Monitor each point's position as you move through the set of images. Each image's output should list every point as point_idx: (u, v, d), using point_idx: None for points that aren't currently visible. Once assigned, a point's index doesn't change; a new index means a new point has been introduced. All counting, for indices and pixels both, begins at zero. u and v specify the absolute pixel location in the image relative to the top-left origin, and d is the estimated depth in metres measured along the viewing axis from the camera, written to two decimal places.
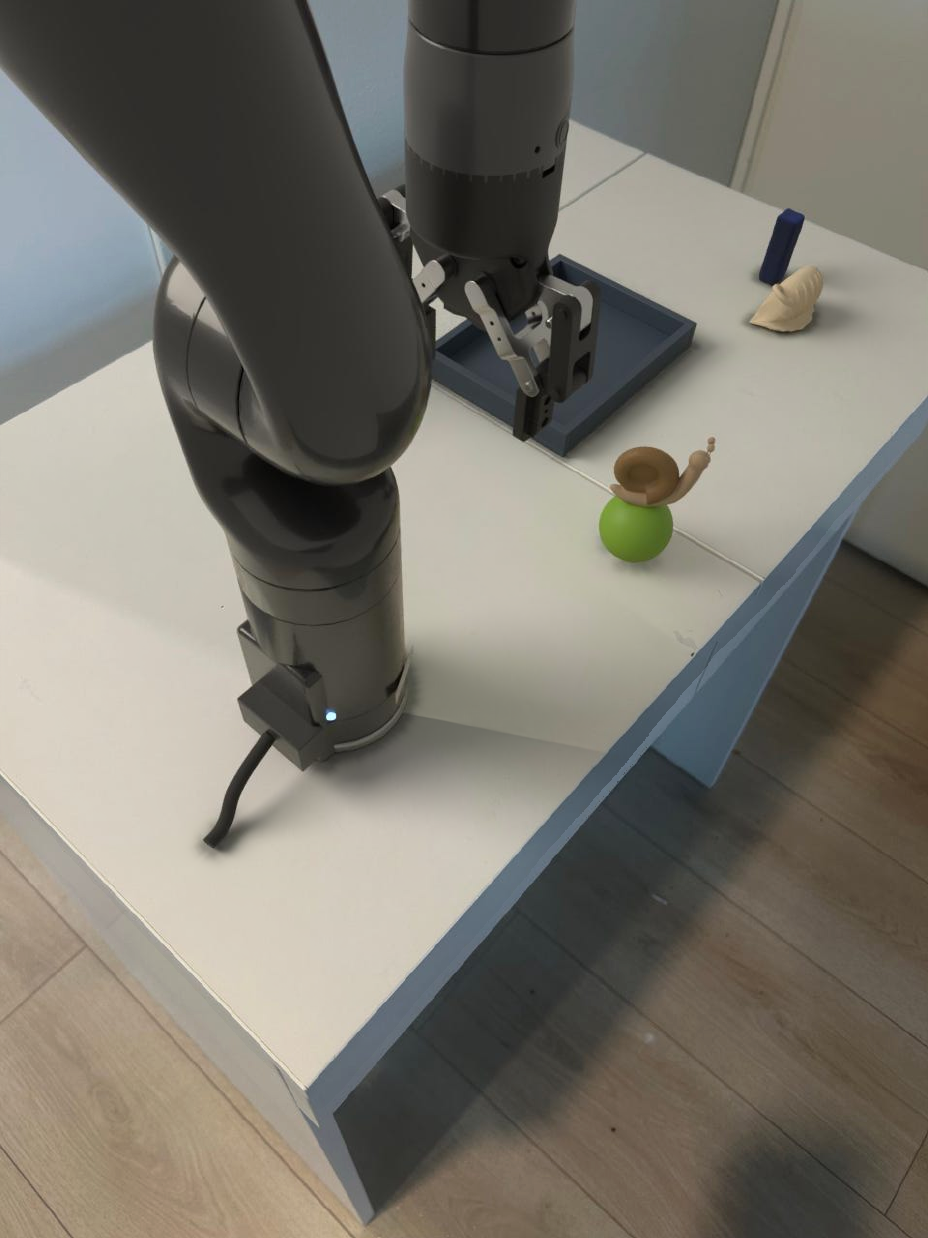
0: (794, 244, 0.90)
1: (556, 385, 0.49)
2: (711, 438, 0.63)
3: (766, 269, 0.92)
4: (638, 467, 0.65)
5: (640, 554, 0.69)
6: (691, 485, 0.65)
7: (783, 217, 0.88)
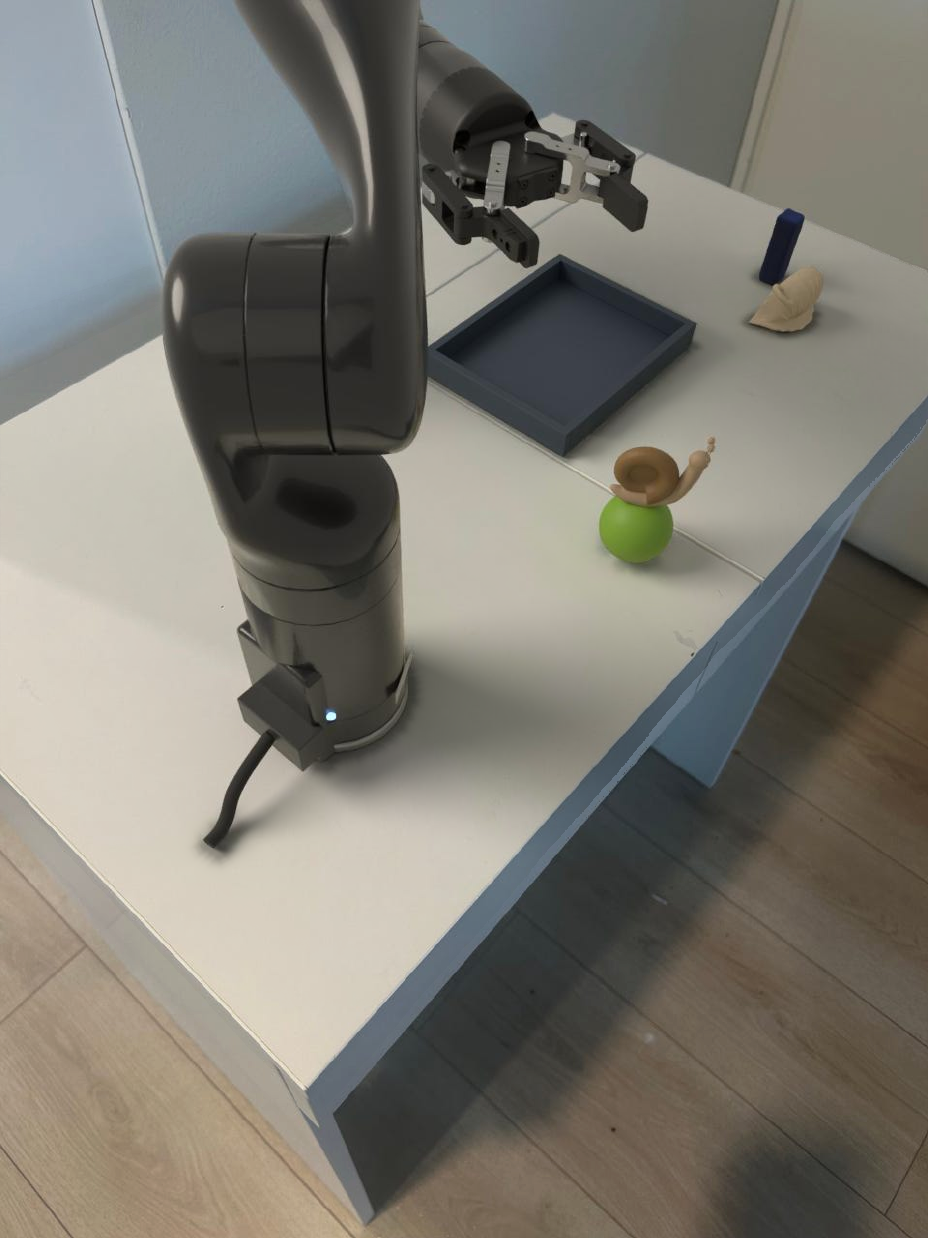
0: (794, 244, 0.90)
1: (622, 152, 0.65)
2: (711, 438, 0.63)
3: (766, 269, 0.92)
4: (638, 467, 0.65)
5: (640, 554, 0.69)
6: (691, 485, 0.65)
7: (783, 217, 0.88)
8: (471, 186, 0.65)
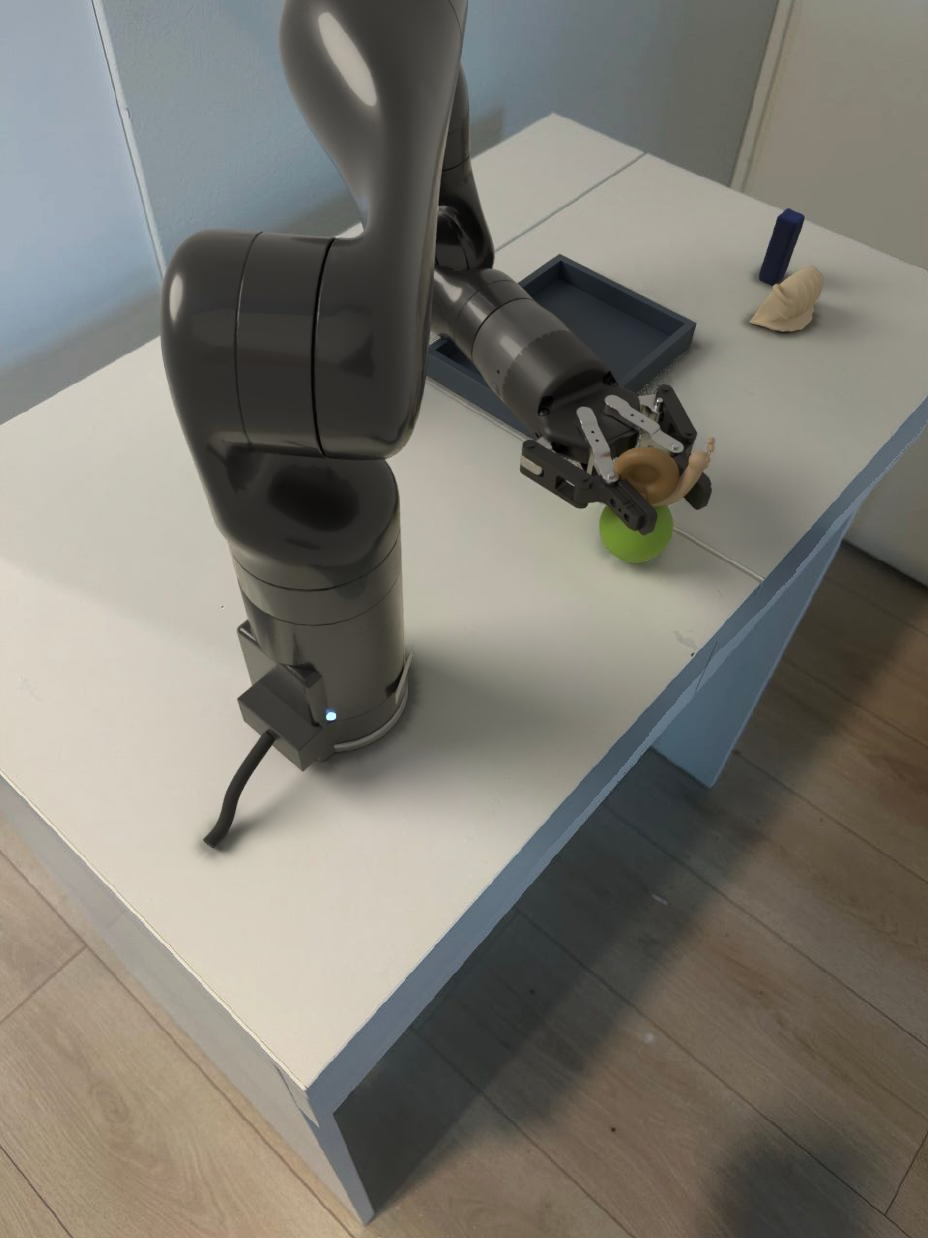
0: (794, 244, 0.90)
1: (686, 428, 0.69)
2: (711, 438, 0.63)
3: (766, 269, 0.92)
4: (638, 467, 0.65)
5: (640, 555, 0.69)
6: (691, 485, 0.65)
7: (783, 217, 0.88)
8: (555, 446, 0.69)
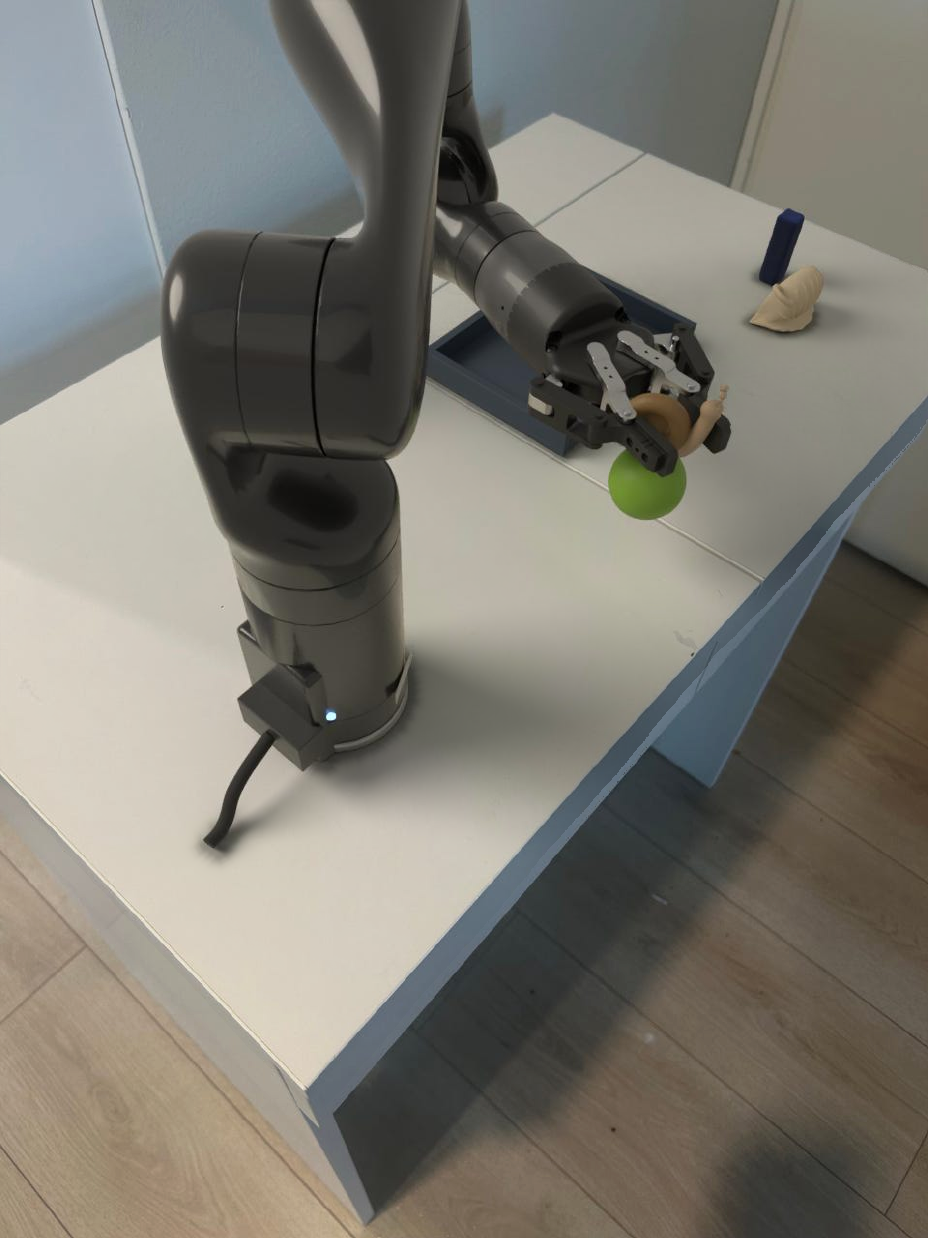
0: (794, 244, 0.90)
1: (702, 368, 0.64)
2: (724, 386, 0.58)
3: (766, 269, 0.92)
4: (647, 415, 0.62)
5: (647, 510, 0.65)
6: (702, 437, 0.61)
7: (783, 217, 0.88)
8: (564, 385, 0.65)
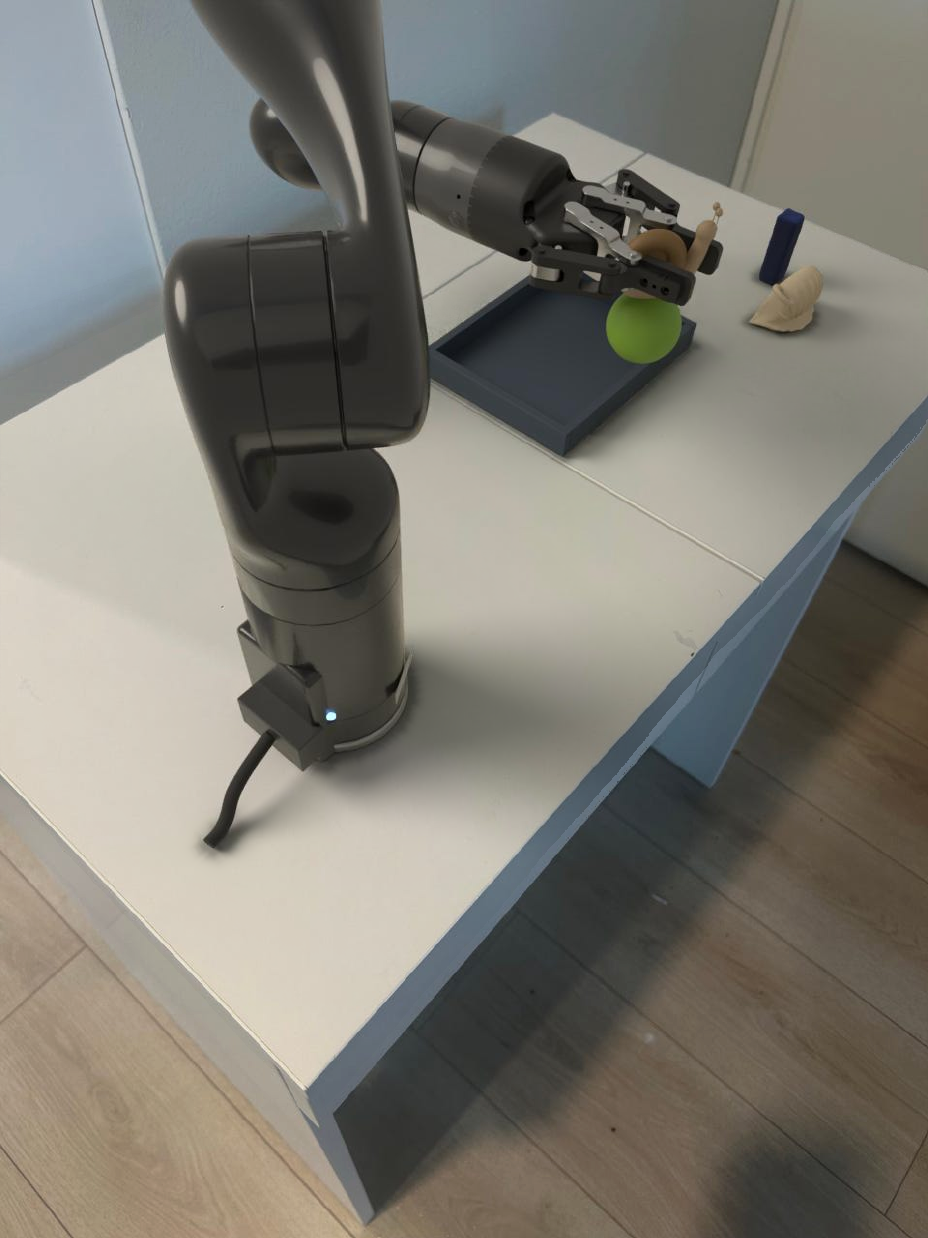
0: (794, 244, 0.90)
1: (666, 201, 0.67)
2: (716, 203, 0.62)
3: (766, 269, 0.92)
4: (646, 254, 0.64)
5: (660, 349, 0.68)
6: (700, 260, 0.65)
7: (783, 217, 0.88)
8: None
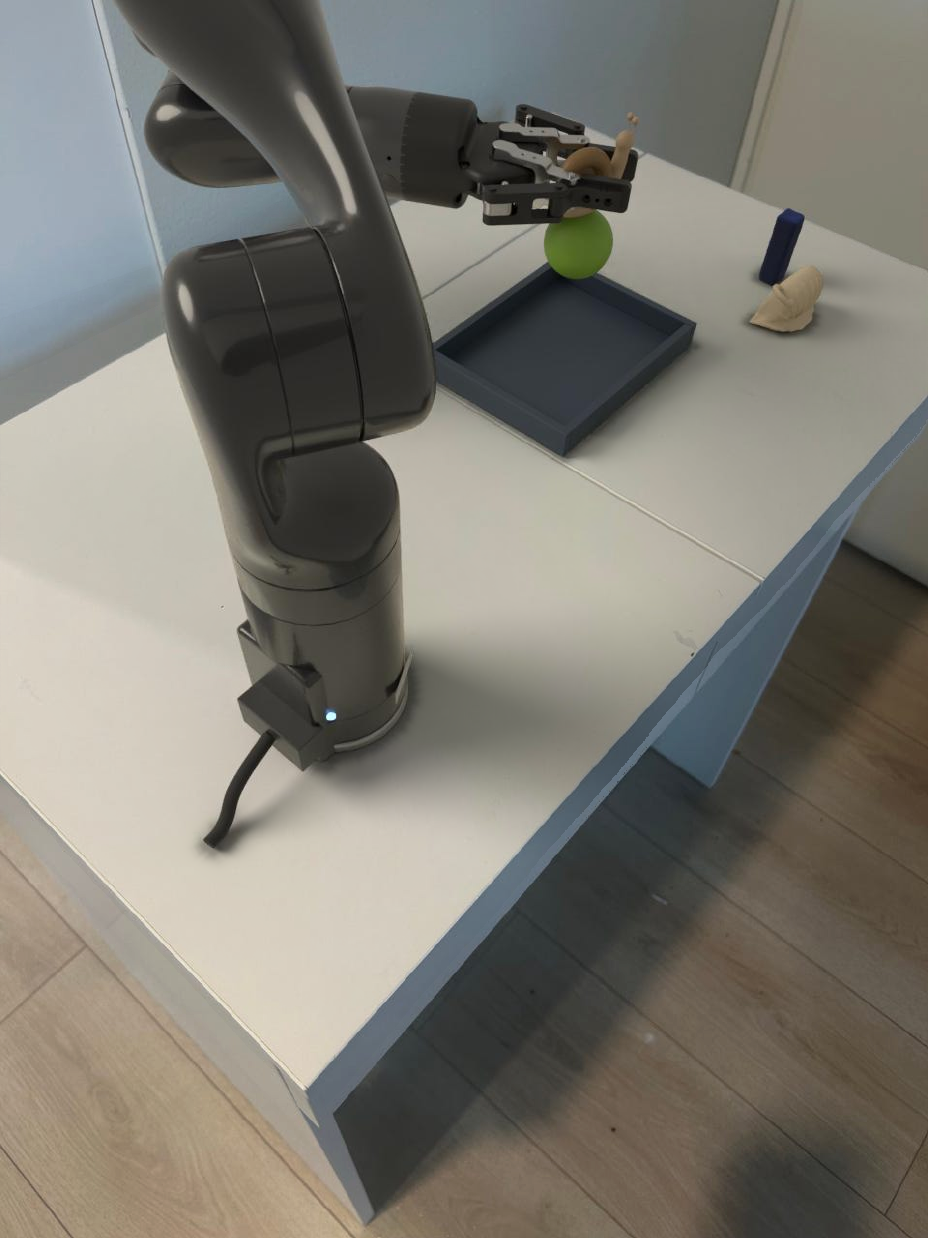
0: (794, 244, 0.90)
1: (572, 125, 0.72)
2: (630, 113, 0.68)
3: (766, 269, 0.92)
4: (578, 173, 0.69)
5: (602, 259, 0.74)
6: (623, 169, 0.71)
7: (783, 217, 0.88)
8: None
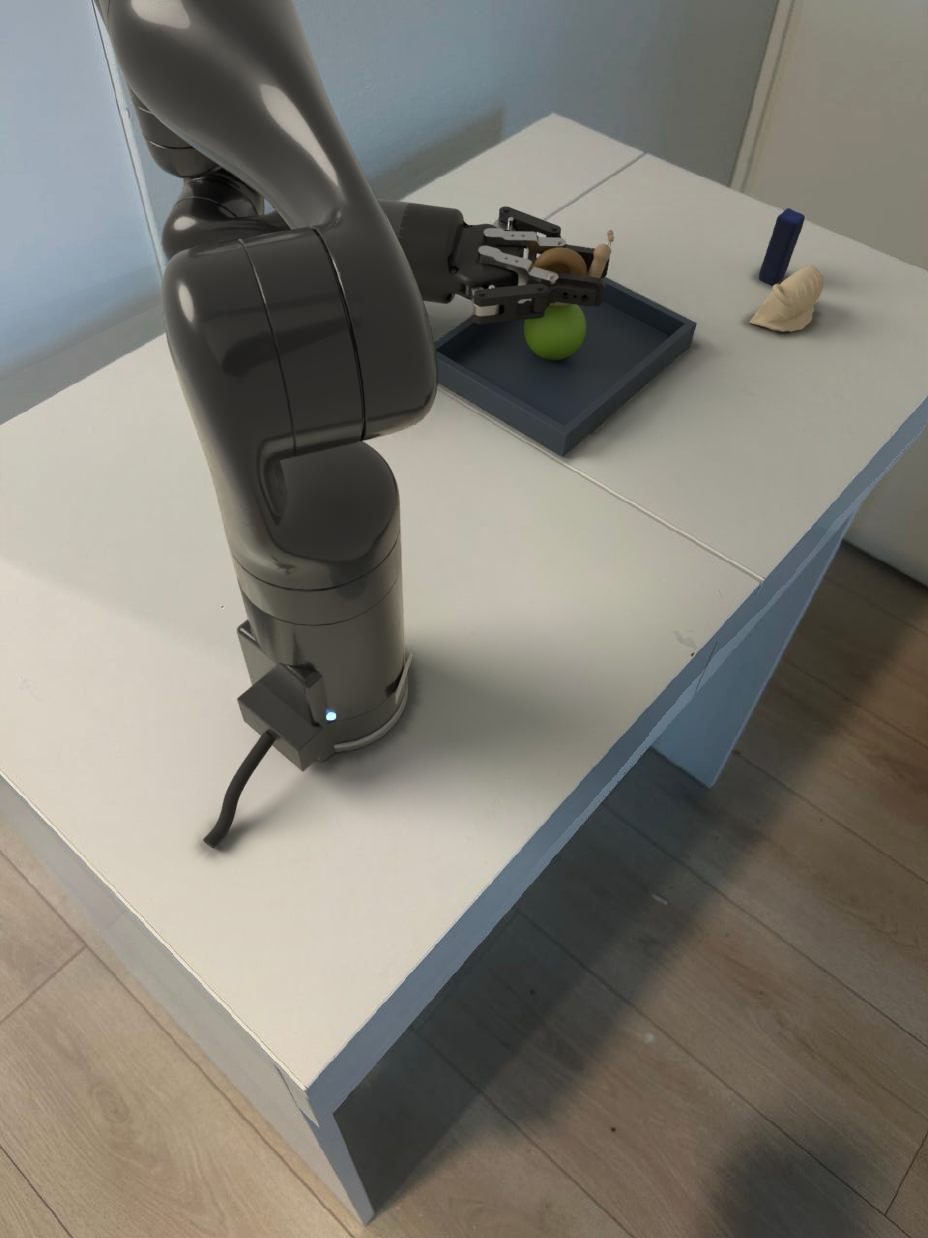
0: (794, 244, 0.90)
1: (549, 227, 0.80)
2: (610, 230, 0.75)
3: (766, 269, 0.92)
4: (552, 267, 0.78)
5: (563, 348, 0.81)
6: (598, 277, 0.78)
7: (783, 217, 0.88)
8: None
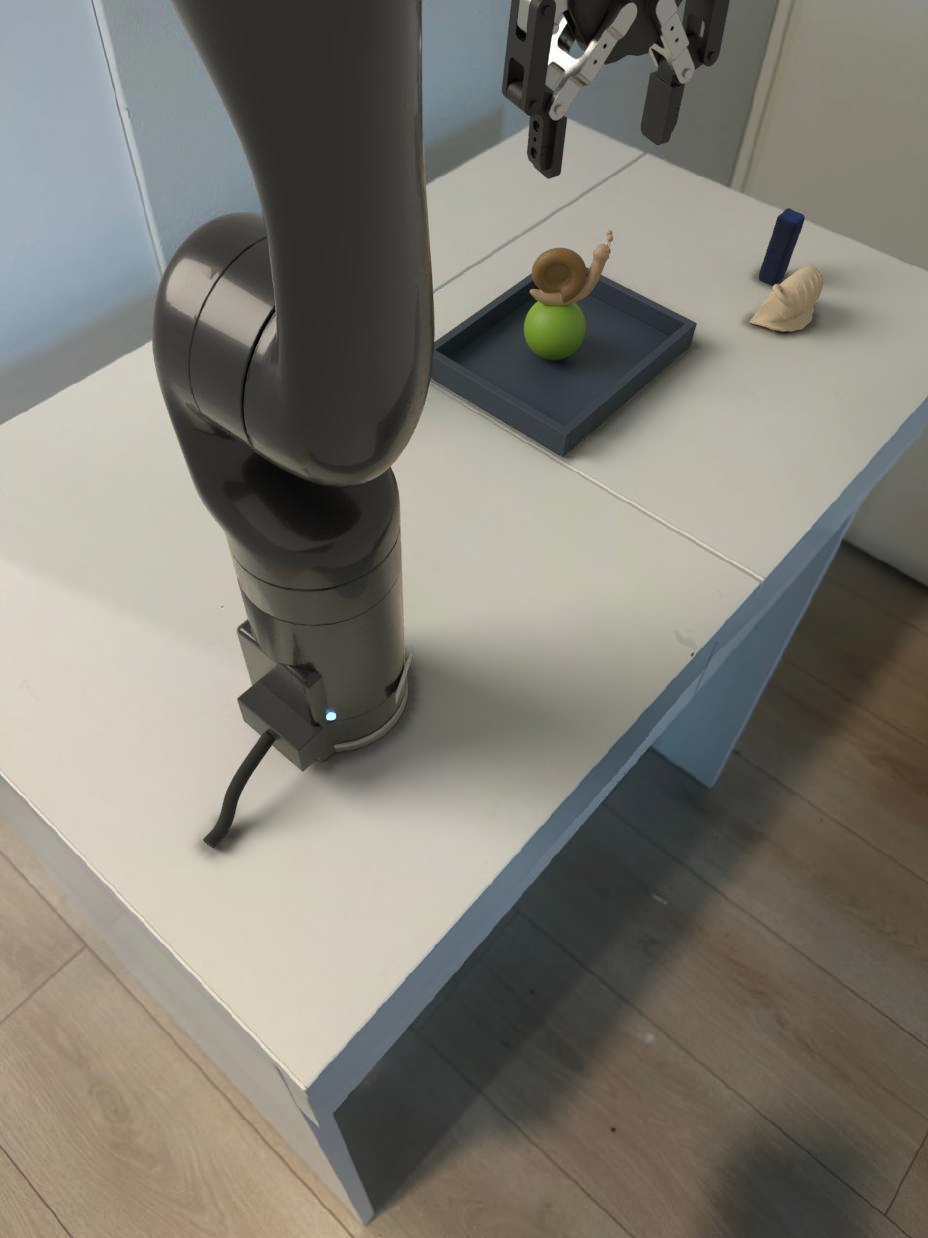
0: (794, 244, 0.90)
1: (712, 48, 0.57)
2: (609, 230, 0.75)
3: (766, 269, 0.92)
4: (552, 267, 0.78)
5: (563, 348, 0.81)
6: (597, 277, 0.78)
7: (783, 217, 0.88)
8: None
